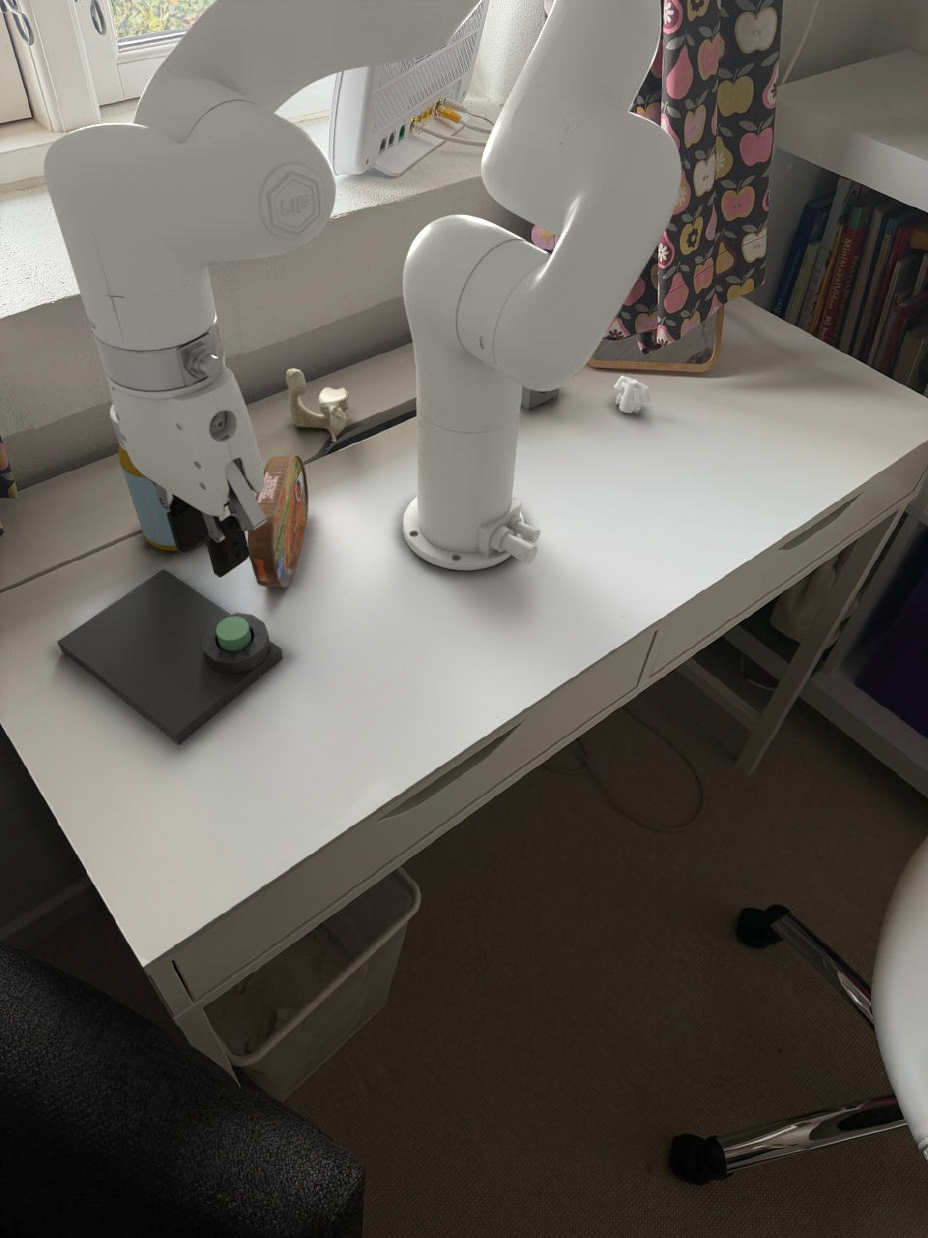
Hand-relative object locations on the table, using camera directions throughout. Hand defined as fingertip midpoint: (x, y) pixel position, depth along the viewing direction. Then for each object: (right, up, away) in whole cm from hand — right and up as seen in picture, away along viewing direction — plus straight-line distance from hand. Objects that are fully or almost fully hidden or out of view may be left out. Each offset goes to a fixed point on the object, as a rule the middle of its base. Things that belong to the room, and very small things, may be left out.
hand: (213, 552), depth 70 cm
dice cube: (+28, +23, +39) cm, 53 cm away
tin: (+2, +2, +20) cm, 20 cm away
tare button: (0, -7, +8) cm, 11 cm away
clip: (+40, +20, +38) cm, 58 cm away
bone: (+4, +17, +34) cm, 38 cm away
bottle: (-9, +4, +21) cm, 23 cm away
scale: (-7, -8, +10) cm, 15 cm away
